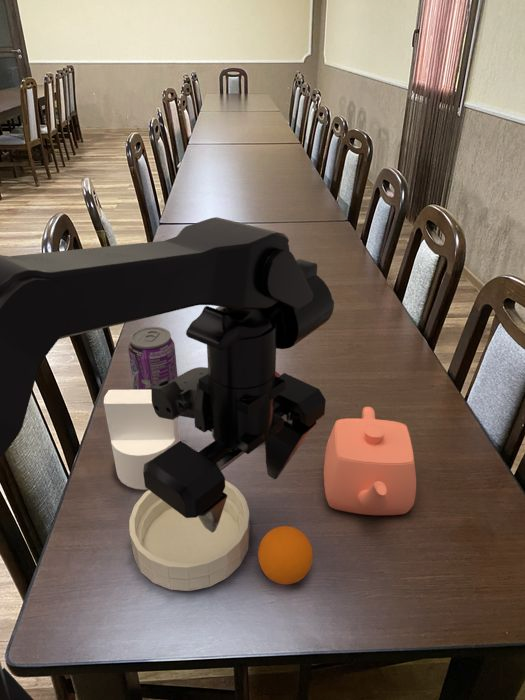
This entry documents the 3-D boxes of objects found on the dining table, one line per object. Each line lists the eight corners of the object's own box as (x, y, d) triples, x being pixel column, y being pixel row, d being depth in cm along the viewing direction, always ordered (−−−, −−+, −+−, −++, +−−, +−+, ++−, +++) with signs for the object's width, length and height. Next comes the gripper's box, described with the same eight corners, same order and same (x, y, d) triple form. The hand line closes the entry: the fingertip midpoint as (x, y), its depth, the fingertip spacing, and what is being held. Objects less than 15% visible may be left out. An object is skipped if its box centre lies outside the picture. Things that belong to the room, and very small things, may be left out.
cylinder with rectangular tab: (109, 489, 71) (95, 418, 65) (123, 444, 79) (112, 376, 73) (177, 489, 71) (170, 418, 65) (185, 443, 79) (179, 376, 73)
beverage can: (144, 385, 92) (135, 323, 85) (184, 389, 91) (179, 326, 85) (129, 410, 86) (119, 346, 79) (172, 414, 85) (166, 350, 79)
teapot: (401, 451, 78) (412, 393, 72) (421, 556, 63) (437, 492, 57) (322, 446, 79) (327, 388, 73) (322, 548, 63) (328, 484, 58)
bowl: (189, 618, 56) (187, 591, 54) (110, 547, 63) (104, 521, 61) (272, 536, 65) (272, 510, 62) (194, 483, 72) (192, 458, 70)
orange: (289, 606, 57) (291, 570, 54) (247, 574, 60) (246, 539, 57) (321, 569, 61) (325, 533, 58) (280, 541, 64) (281, 506, 61)
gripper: (245, 305, 56) (245, 423, 64) (91, 380, 44) (116, 514, 52) (334, 341, 50) (322, 466, 58) (184, 440, 38) (195, 581, 46)
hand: (243, 501), depth 53 cm, fingers open, 9 cm apart
